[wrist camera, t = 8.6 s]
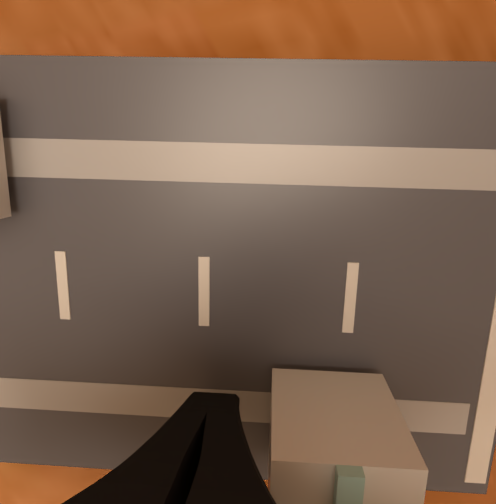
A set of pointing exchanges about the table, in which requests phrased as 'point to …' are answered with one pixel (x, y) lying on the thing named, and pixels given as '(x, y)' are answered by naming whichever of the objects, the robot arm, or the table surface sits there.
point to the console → (245, 247)
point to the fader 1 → (3, 181)
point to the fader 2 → (340, 441)
